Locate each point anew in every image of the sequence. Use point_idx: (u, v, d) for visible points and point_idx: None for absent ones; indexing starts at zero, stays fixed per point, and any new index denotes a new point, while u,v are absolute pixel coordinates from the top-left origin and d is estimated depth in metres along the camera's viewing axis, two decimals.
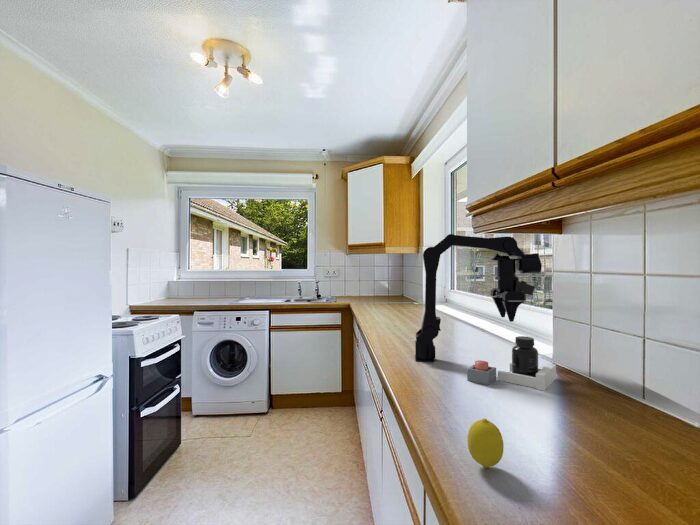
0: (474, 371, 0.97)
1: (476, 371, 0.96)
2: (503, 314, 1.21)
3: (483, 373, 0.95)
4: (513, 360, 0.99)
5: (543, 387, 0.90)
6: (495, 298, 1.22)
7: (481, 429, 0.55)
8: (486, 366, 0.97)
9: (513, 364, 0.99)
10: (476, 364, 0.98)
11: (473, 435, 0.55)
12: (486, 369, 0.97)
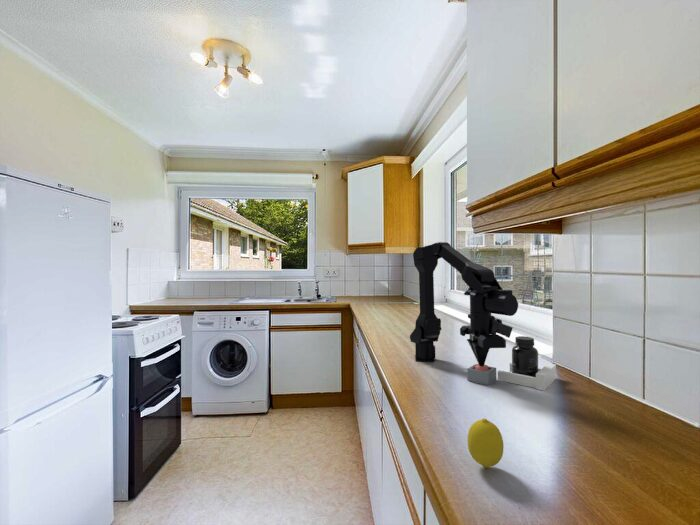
0: (474, 371, 0.97)
1: (476, 371, 0.96)
2: None
3: (483, 373, 0.95)
4: (513, 360, 0.99)
5: (543, 387, 0.90)
6: (472, 342, 0.99)
7: (481, 429, 0.55)
8: (486, 370, 0.97)
9: (513, 364, 0.99)
10: (476, 368, 0.98)
11: (473, 435, 0.55)
12: None
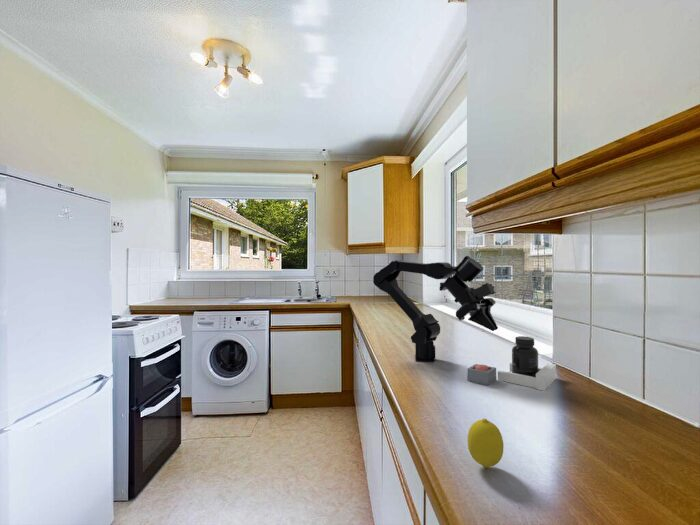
0: (474, 371, 0.97)
1: (476, 371, 0.96)
2: (493, 326, 1.06)
3: (483, 373, 0.95)
4: (513, 360, 0.99)
5: (543, 387, 0.90)
6: None
7: (481, 429, 0.55)
8: (486, 370, 0.97)
9: (513, 364, 0.99)
10: (476, 368, 0.98)
11: (473, 436, 0.55)
12: None
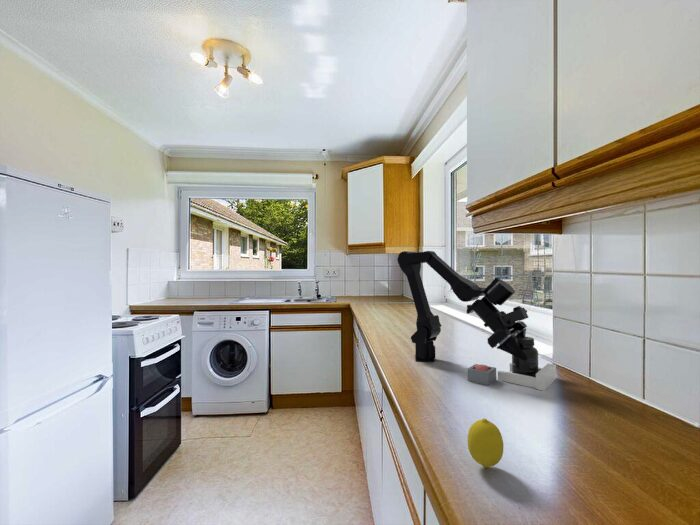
0: (474, 371, 0.97)
1: (476, 371, 0.96)
2: None
3: (483, 373, 0.95)
4: (513, 360, 0.99)
5: (543, 387, 0.90)
6: None
7: (481, 428, 0.55)
8: (486, 370, 0.97)
9: (513, 364, 0.99)
10: (476, 368, 0.98)
11: (473, 435, 0.55)
12: None
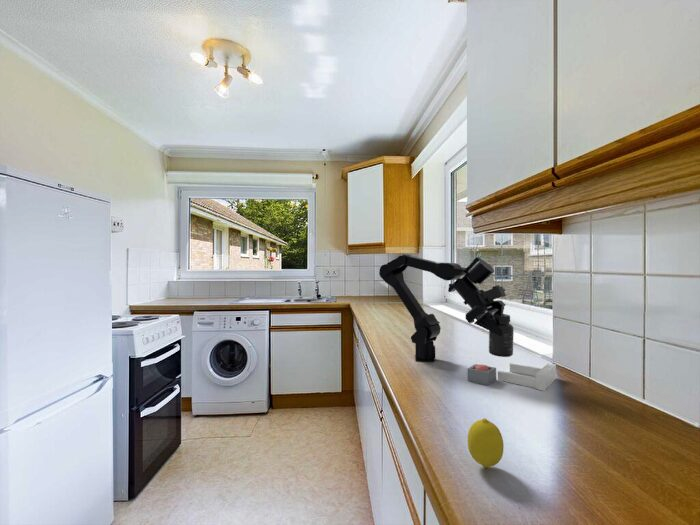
0: (474, 371, 0.97)
1: (476, 371, 0.96)
2: None
3: (483, 373, 0.95)
4: (490, 336, 1.03)
5: (543, 387, 0.90)
6: None
7: (481, 428, 0.55)
8: (486, 370, 0.97)
9: (490, 339, 1.03)
10: (476, 368, 0.98)
11: (473, 435, 0.55)
12: None
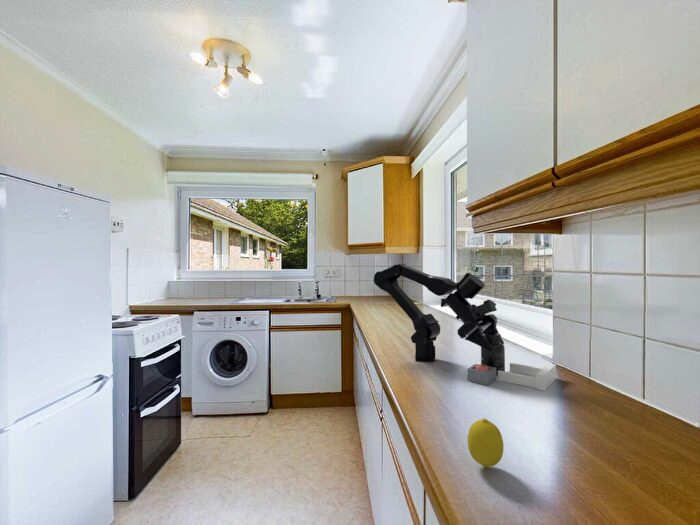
0: (474, 371, 0.97)
1: (476, 371, 0.96)
2: (500, 341, 1.08)
3: (483, 373, 0.95)
4: (481, 355, 1.05)
5: (543, 387, 0.90)
6: (483, 332, 1.12)
7: (481, 428, 0.55)
8: (486, 370, 0.97)
9: (481, 359, 1.05)
10: (476, 368, 0.98)
11: (473, 435, 0.55)
12: None
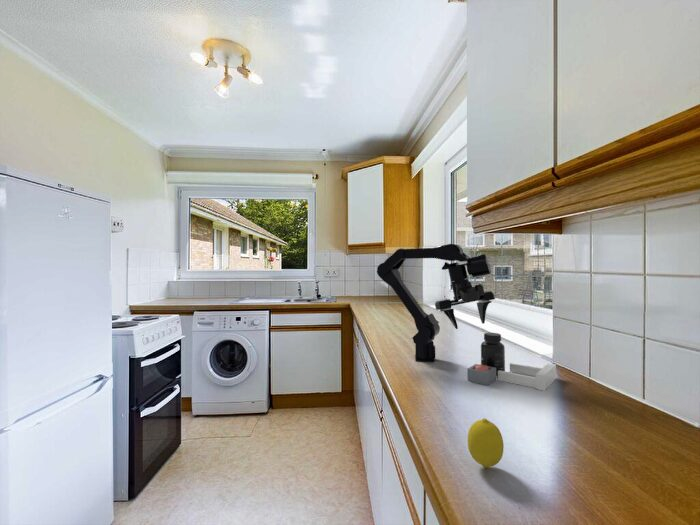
0: (474, 371, 0.97)
1: (476, 371, 0.96)
2: (481, 320, 1.14)
3: (483, 373, 0.95)
4: (481, 355, 1.05)
5: (543, 387, 0.90)
6: (477, 303, 1.17)
7: (481, 428, 0.55)
8: (486, 370, 0.97)
9: (481, 359, 1.05)
10: (476, 368, 0.98)
11: (473, 435, 0.55)
12: None
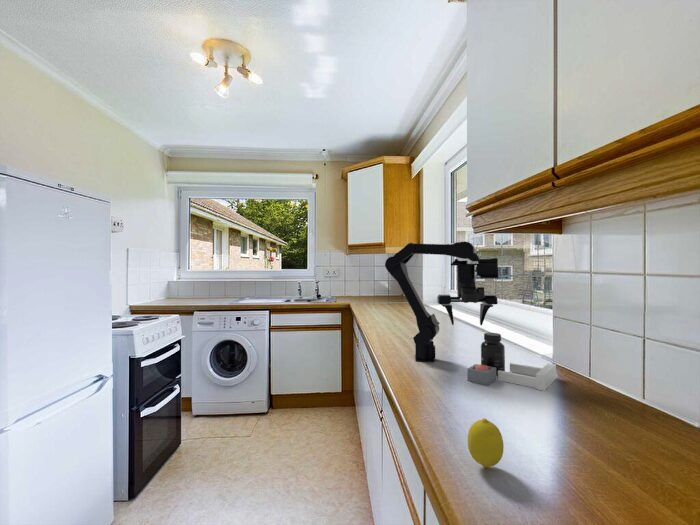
0: (474, 371, 0.97)
1: (476, 371, 0.96)
2: (480, 321, 1.15)
3: (483, 373, 0.95)
4: (481, 355, 1.05)
5: (543, 387, 0.90)
6: (480, 304, 1.17)
7: (481, 428, 0.55)
8: (486, 370, 0.97)
9: (481, 359, 1.05)
10: (476, 368, 0.98)
11: (473, 435, 0.55)
12: None
